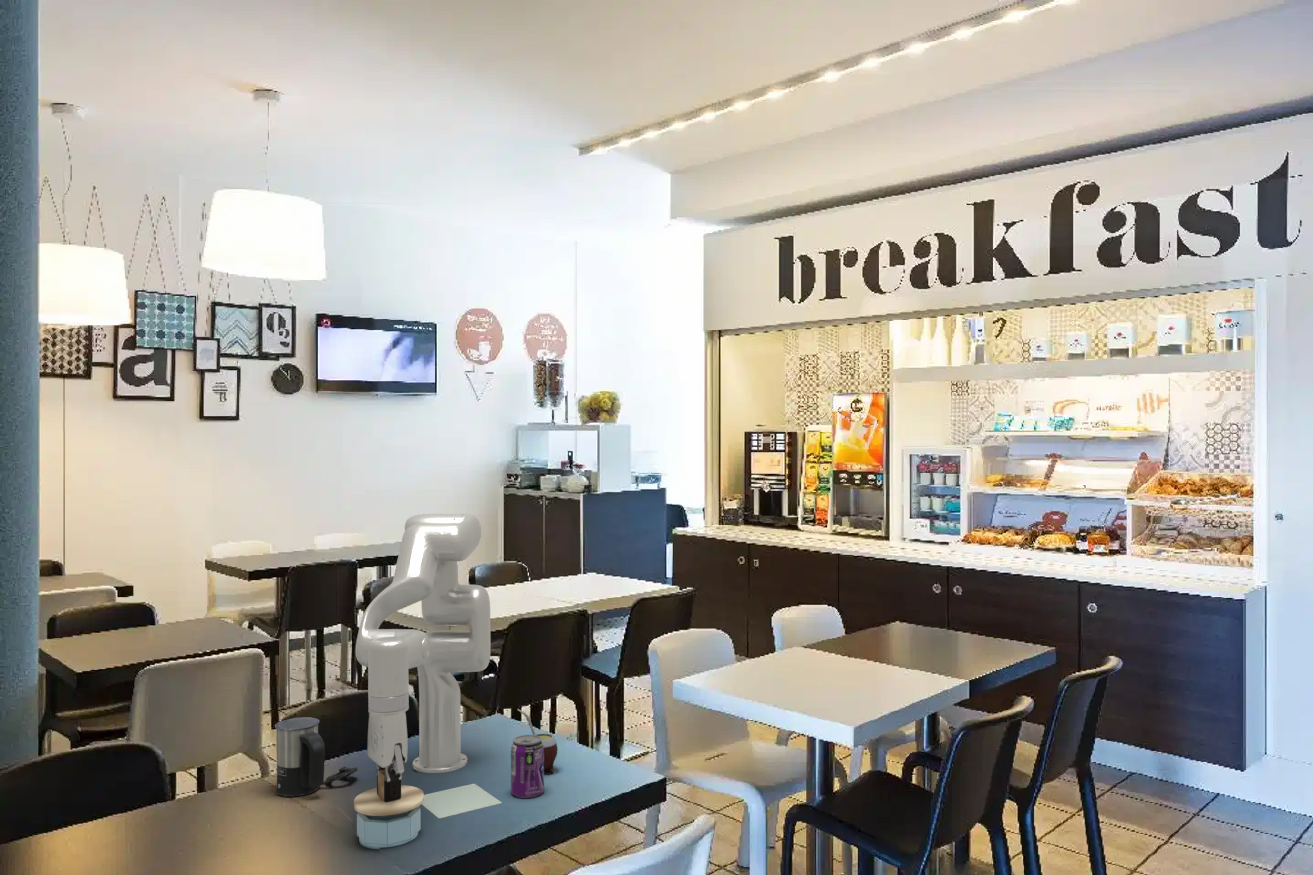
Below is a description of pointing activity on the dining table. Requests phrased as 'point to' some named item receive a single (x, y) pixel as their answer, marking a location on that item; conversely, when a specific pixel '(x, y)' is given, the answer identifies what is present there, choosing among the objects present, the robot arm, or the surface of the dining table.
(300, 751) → the milk frother
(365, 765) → the dining table surface
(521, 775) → the beverage can
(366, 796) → the lid
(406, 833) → the bowl
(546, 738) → the mate gourd
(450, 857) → the dining table surface
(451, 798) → the mat
